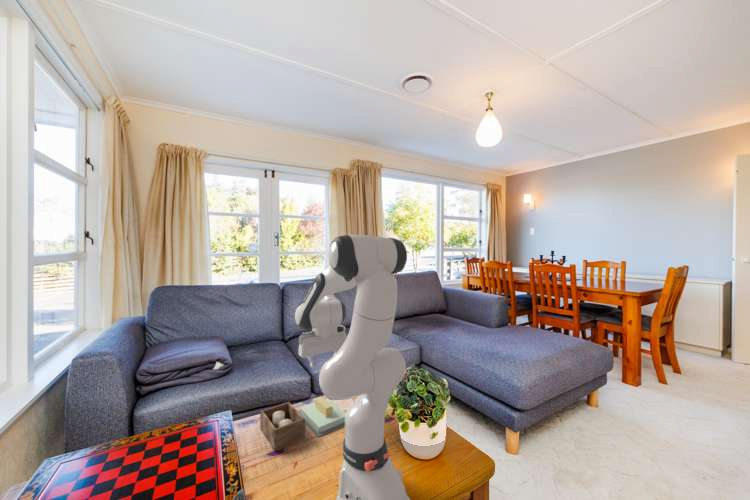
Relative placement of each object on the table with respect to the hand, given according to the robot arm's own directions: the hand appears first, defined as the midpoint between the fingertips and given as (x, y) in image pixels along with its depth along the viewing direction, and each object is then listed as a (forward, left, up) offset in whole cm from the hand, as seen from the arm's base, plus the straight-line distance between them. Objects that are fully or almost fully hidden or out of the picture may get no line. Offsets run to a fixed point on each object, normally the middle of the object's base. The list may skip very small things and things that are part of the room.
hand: (323, 363), depth 119 cm
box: (0, +17, -22) cm, 28 cm away
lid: (0, 0, -22) cm, 22 cm away
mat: (0, 0, -22) cm, 22 cm away
